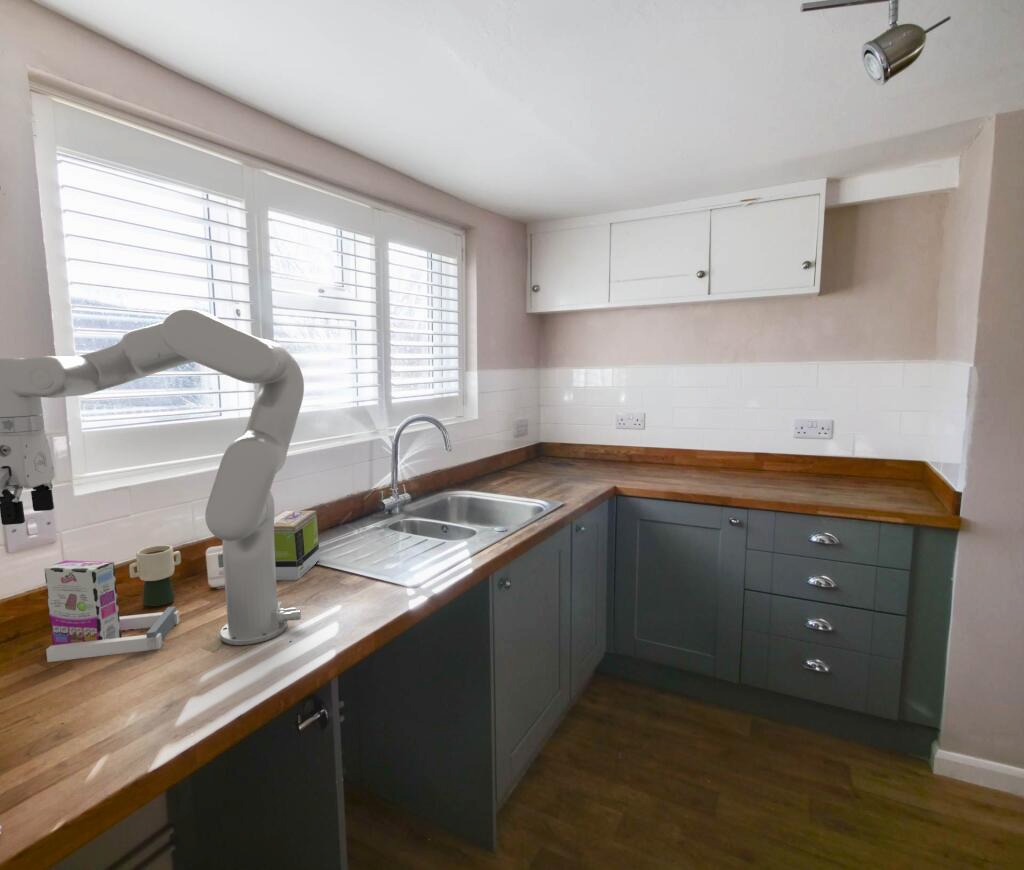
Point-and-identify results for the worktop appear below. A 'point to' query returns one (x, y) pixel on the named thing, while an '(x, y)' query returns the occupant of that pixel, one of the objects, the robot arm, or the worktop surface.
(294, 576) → the tea box
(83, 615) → the candy bar box
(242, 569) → the robot arm
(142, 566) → the character mug
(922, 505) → the worktop surface
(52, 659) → the channel
